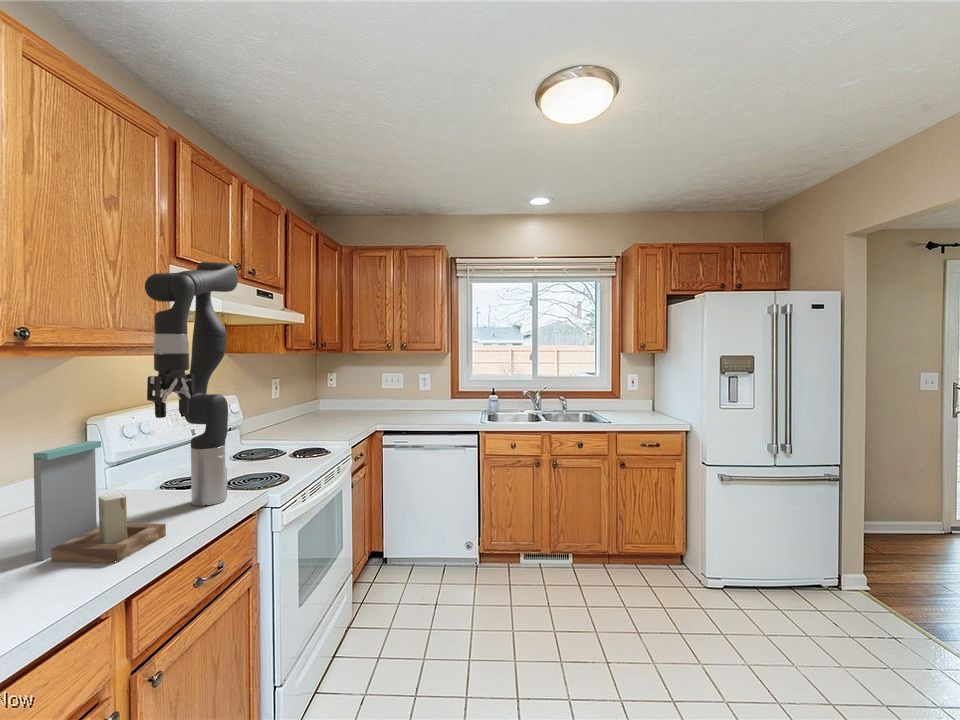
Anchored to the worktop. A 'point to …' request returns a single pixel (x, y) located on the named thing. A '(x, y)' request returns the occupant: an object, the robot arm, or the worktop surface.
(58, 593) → the worktop surface
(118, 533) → the skincare box
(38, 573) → the worktop surface
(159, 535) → the socket block
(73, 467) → the board
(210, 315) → the robot arm
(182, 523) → the worktop surface
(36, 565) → the worktop surface
